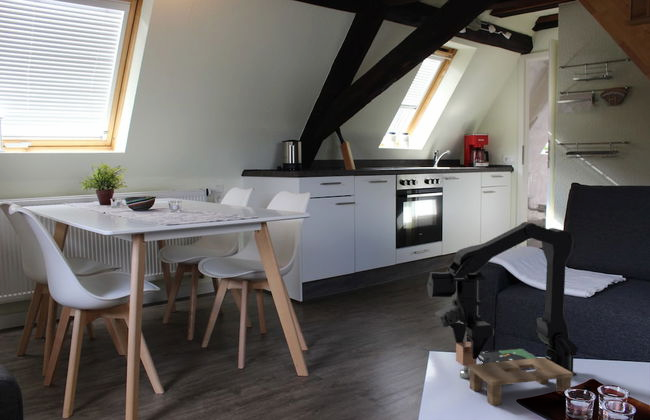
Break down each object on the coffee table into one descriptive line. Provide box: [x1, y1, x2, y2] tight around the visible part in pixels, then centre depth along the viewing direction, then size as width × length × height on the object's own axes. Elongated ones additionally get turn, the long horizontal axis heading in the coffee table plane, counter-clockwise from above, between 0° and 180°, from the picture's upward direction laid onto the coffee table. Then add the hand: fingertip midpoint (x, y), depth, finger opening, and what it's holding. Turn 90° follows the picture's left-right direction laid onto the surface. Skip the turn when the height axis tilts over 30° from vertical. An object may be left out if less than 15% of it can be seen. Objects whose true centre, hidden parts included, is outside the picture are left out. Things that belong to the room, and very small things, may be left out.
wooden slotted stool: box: [468, 357, 574, 406], centre depth 148 cm, size 22×12×6 cm, turn 103°
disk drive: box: [477, 348, 539, 363], centre depth 170 cm, size 10×3×15 cm
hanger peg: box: [455, 341, 478, 380], centre depth 158 cm, size 4×4×9 cm
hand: (466, 353), depth 158 cm, fingers open, 9 cm apart
